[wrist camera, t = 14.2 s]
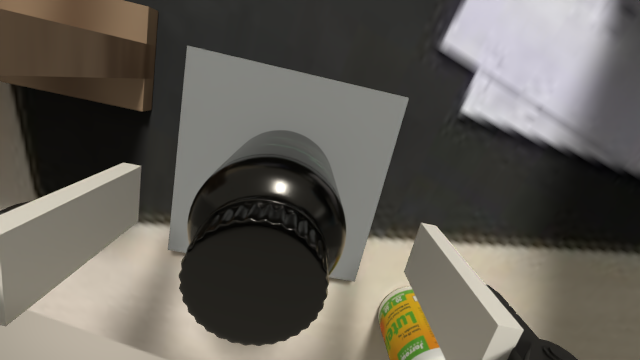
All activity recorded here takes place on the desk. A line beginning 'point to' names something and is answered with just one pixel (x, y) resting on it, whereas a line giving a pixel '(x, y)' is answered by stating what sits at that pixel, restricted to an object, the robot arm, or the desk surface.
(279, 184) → the supplement bottle
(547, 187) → the desk surface
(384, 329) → the supplement bottle
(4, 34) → the walnut screen
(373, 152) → the slate mat
